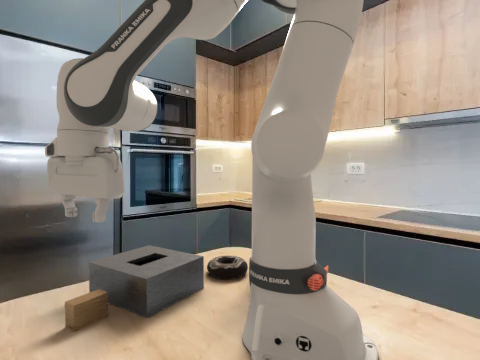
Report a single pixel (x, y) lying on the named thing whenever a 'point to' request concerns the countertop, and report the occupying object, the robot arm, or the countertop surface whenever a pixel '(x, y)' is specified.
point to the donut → (227, 267)
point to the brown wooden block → (86, 309)
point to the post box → (147, 278)
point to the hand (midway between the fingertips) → (84, 219)
